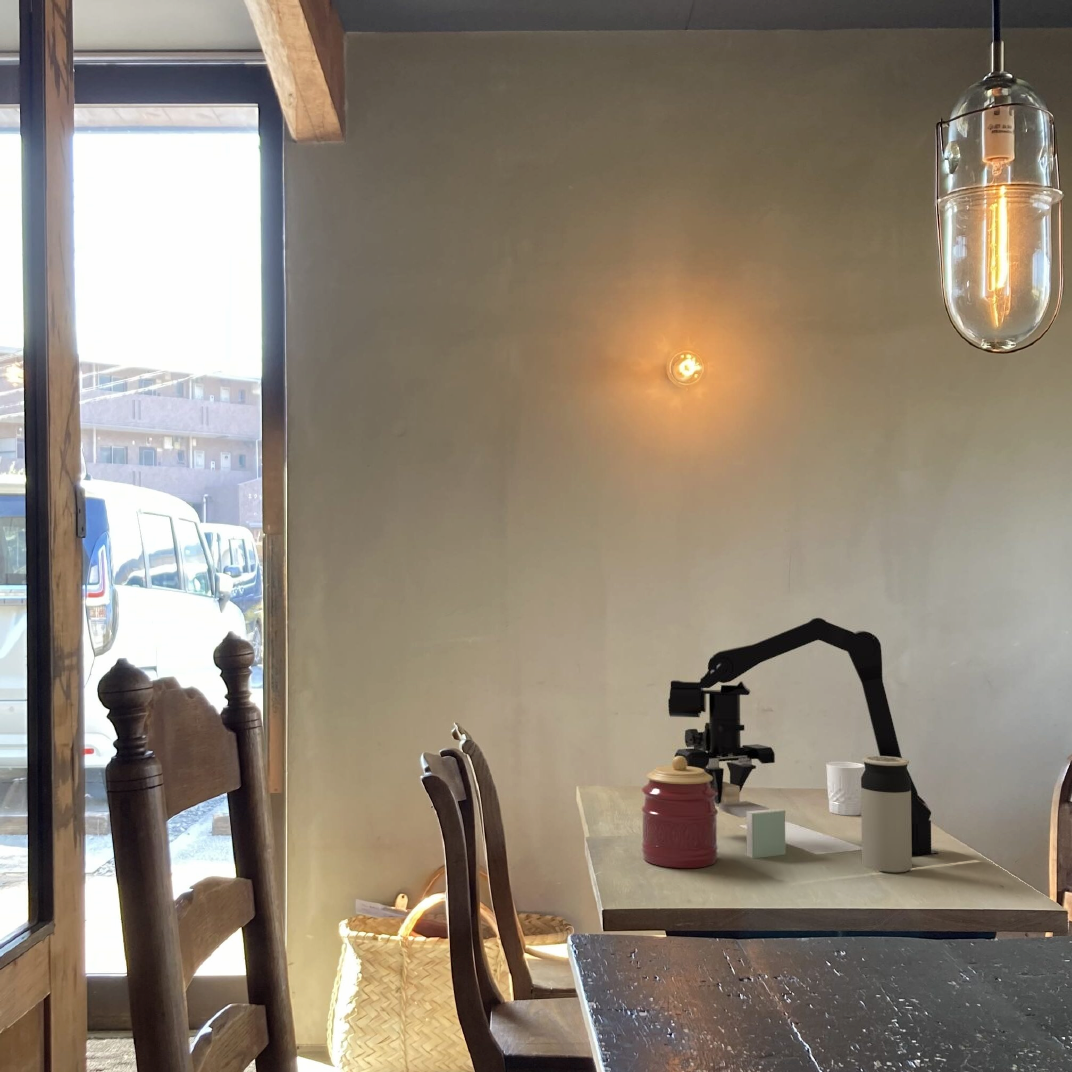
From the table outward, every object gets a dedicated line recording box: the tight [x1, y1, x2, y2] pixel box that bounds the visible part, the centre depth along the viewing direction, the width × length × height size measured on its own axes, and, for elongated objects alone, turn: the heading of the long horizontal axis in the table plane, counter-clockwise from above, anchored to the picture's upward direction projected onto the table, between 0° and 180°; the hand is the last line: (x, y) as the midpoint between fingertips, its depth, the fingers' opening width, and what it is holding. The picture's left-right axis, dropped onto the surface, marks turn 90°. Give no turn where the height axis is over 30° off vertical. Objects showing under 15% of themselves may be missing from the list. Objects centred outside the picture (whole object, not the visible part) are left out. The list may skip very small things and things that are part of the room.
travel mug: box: [860, 755, 913, 874], centre depth 173 cm, size 8×8×18 cm
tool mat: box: [738, 820, 862, 856], centre depth 193 cm, size 24×11×1 cm, turn 23°
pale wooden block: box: [715, 780, 770, 819], centre depth 190 cm, size 15×6×4 cm, turn 23°
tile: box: [746, 808, 786, 859], centre depth 179 cm, size 2×7×8 cm, turn 113°
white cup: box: [825, 761, 865, 817], centre depth 217 cm, size 8×8×10 cm
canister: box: [641, 756, 719, 869], centre depth 177 cm, size 13×13×18 cm
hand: (725, 803), depth 191 cm, fingers closed on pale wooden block, 3 cm apart
